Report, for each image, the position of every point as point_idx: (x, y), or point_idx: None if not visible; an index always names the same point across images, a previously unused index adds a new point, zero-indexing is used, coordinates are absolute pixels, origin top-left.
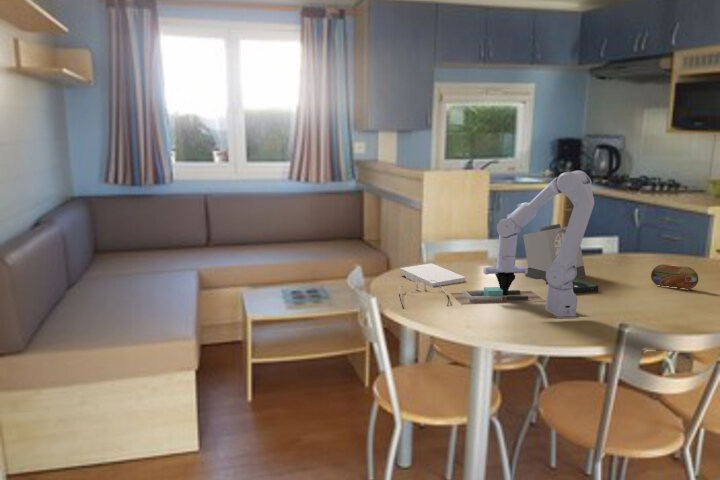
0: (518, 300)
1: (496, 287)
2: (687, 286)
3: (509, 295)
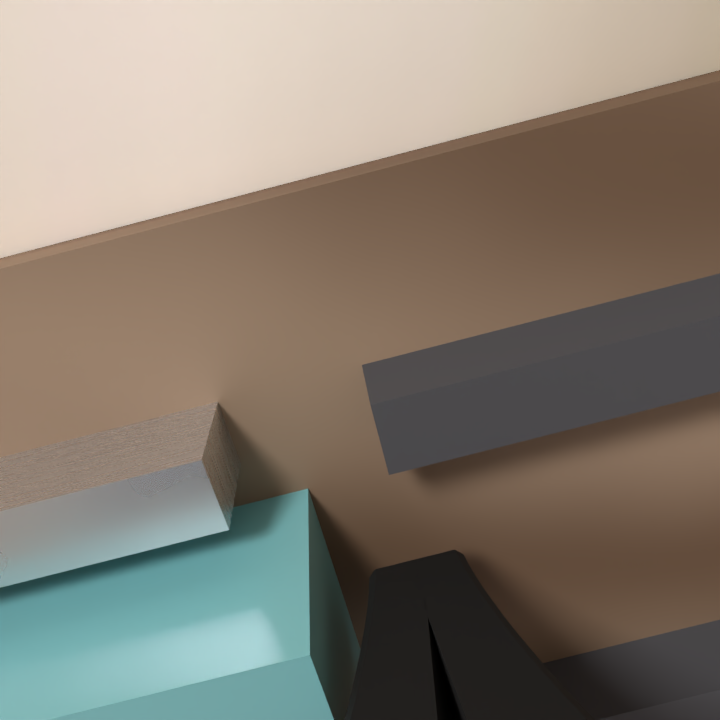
0: None
1: (242, 715)
2: None
3: (581, 440)
